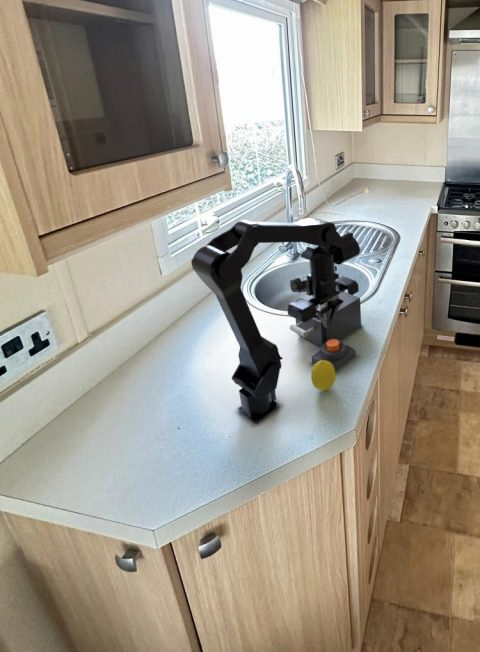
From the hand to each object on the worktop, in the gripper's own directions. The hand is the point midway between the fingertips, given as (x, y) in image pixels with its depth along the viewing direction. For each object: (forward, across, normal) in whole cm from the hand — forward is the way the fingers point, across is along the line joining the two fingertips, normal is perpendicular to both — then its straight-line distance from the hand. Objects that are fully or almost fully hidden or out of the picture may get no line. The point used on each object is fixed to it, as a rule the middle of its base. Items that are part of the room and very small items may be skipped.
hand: (327, 327), depth 101 cm
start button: (+6, -1, +1) cm, 6 cm away
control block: (+10, -1, +1) cm, 10 cm away
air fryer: (+10, -10, -10) cm, 17 cm away
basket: (+9, -6, -10) cm, 14 cm away
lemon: (+10, +8, +7) cm, 15 cm away
